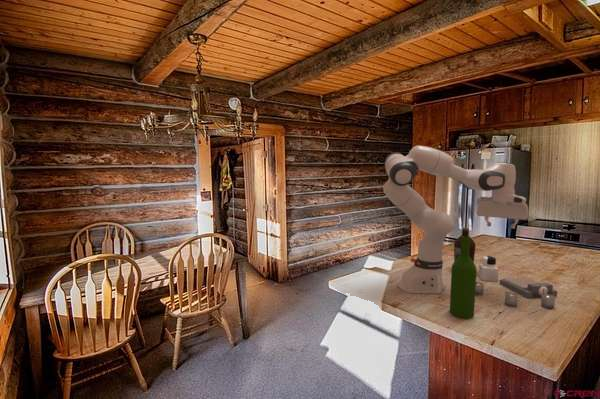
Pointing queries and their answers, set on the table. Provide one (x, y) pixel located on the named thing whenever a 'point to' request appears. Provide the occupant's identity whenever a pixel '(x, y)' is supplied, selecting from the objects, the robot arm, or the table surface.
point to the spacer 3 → (548, 301)
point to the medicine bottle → (488, 269)
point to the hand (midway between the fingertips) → (500, 227)
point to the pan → (520, 282)
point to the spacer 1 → (479, 288)
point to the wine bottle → (463, 283)
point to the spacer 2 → (511, 299)
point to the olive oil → (458, 245)
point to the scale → (531, 289)
